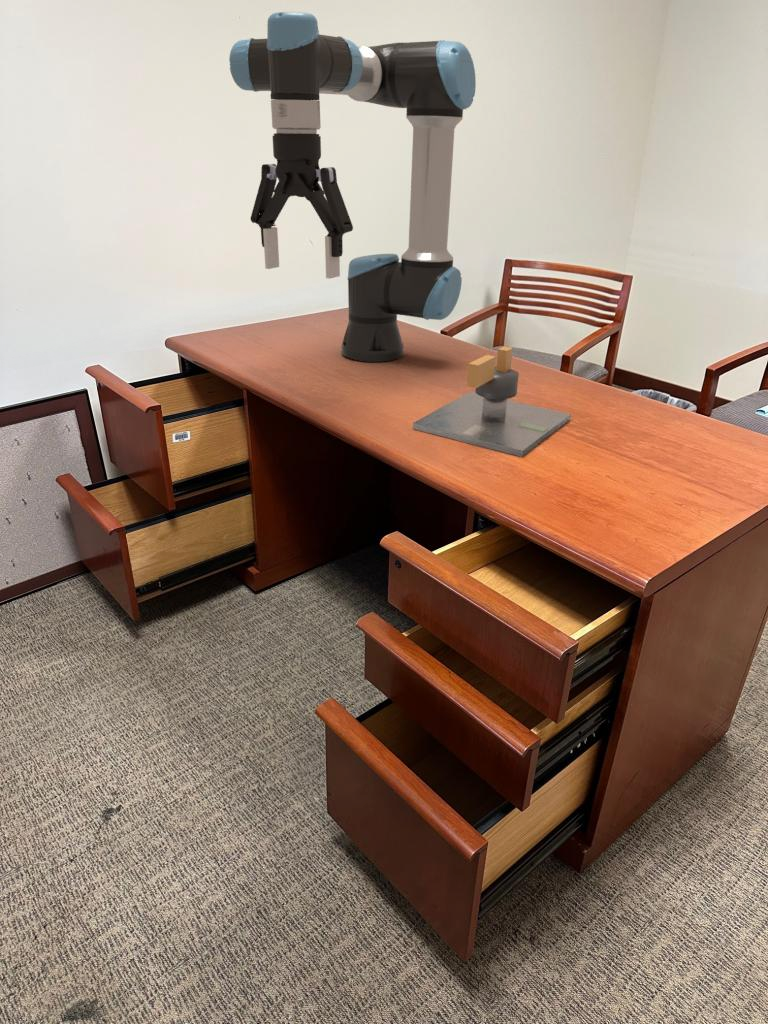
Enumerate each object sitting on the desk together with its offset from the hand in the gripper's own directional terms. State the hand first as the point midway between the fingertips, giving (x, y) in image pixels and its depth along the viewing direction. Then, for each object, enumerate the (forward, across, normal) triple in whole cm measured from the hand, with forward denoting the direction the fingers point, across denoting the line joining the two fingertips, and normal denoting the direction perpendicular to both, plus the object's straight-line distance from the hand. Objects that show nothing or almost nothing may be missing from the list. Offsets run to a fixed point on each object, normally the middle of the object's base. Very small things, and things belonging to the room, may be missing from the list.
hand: (301, 272), depth 125 cm
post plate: (+28, +28, +21) cm, 45 cm away
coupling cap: (+21, +28, +18) cm, 39 cm away
